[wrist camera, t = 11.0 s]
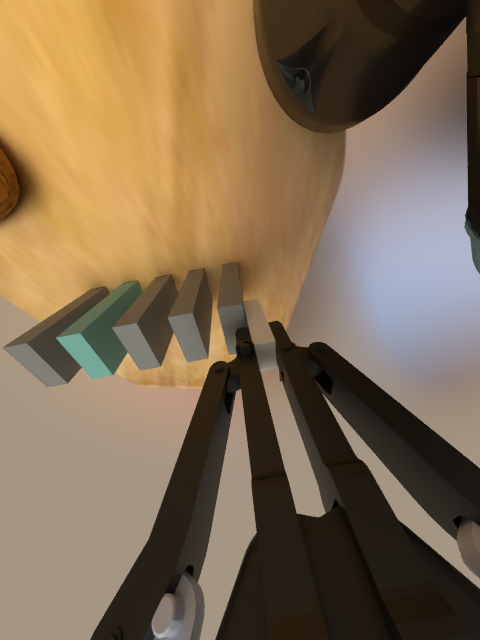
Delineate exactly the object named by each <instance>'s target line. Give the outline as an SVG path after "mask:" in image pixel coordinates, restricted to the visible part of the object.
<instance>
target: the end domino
mask: <svg viewBox="0 0 480 640" xmlns="http://www.w3.org/2000/svg"><path fill="white" fill-rule="evenodd" d="M109 294H110V293H109V291H108V290H107V288H106V287H101V288H95V289H91V290H89V291H88V292H86V293H85V294H83V295H82V296H80V297H79V298H77V299H76V300H74V301H73V302H71V303H70V304H68V305H67V306H65V307H64V308H62V309H60V310H59V311H57V312H56V313H54V314H53V315H51V316H50V317H48V318H47V319H45V320H44V321H42V322H41V323H39V324H38V325H36V326H35V327H33V328H32V329H30V330H29V331H27V332H25V333H24V334H22V335H21V336H19V337H18V338H16V339H15V340H13V341H12V342H10V343H9V344H7V345H6V346H4V347H3V349H4V350H5V351H7V352H8V353H9V354H10V355H11V356H12V357H14V358H15V359H16V360H17V361H18V362H19V363H20V364H21V365H23V366H24V367H25V368H26V369H27V370H28V371H29V372H30V373H32V374H33V375H34V376H35V377H36V378H37V379H38V380H40V381H41V382H42V383H43V384H44V385H45V386H46V387H51V386H57V385H63V384H68V383H69V382H70V380H71V379H72V378H73V377H74V376H75V375H76V373H77V372H78V371H79V370H80V369H81V366H80V365H79V363H78V362H77V361H76V360H75V359H74V358H73V357H72V356H71V355H70V353H69V352H68V351H67V350H66V349H65V348H64V347H63V346H62V344H61V343H60V342H59V341H58V340H57V339H56V337H57V336H58V335H60V334H61V333H62V332H63V331H65V330H66V329H67V328H68V327H70V326H71V325H72V324H73V323H75V322H76V321H77V320H78V319H80V318H81V317H82V316H83V315H84V314H86V313H87V312H88V311H89V310H91V309H92V308H93V307H94V306H96V305H97V304H98V303H99V302H101V301H102V300H103V299H104V298H106V297H107V296H108V295H109Z"/></svg>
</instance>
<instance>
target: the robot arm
mask: <svg viewBox="0 0 480 640" xmlns="http://www.w3.org/2000/svg"><path fill="white" fill-rule="evenodd" d="M465 17H466V34H467V57H468V58H467V63H468V71H467V144H468V146H467V149H468V208H467V211H466V215H465V217H466V222H465V229H466V232H467V234H468V235H469V236H470V240H471V249H472V258H473V262H474V265H475V267H476V269H477V271H478V272H479V274H480V0H254V22H255V32H256V39H257V45H258V50H259V55H260V59H261V63H262V66H263V70H264V73H265V76H266V79H267V81H268V83H269V86H270V88H271V90H272V92H273V94H274V96H275V98H276V99H277V101H278V103H279V104H280V105H281V107H282V108H283V109H284V111H285V112H286V113H287V114H288V115H289V116H290V117H291V118H292V119H293V120H294V121H296V122H297V123H298V124H300V125H301V126H303V127H305V128H307V129H310V130H313V131H317V132H324V133H331V132H338V131H342V130H345V129H348V128H350V127H353V126H355V125H356V124H359V123H360V122H362V121H364V120H365V119H367V118H369V117H370V116H372V115H374V114H375V113H377V112H378V111H380V110H381V109H383V108H384V107H385V106H386V105H387V104H389V103H390V102H391V101H392V100H393V99H395V98H396V97H397V96H398V95H399V94H400V93H401V92H402V91H403V90H404V89H405V88H406V87H407V86H408V84H409V83H410V82H411V81H412V80H413V79H414V77H415V76H416V75H417V74H418V72H419V71H420V70H421V68H422V67H423V65H424V64H425V63H426V62H427V61H428V60H429V59H430V58H431V56H432V55H433V54H434V53H435V52H436V51H437V50H438V48H439V47H440V46H441V45H442V44H443V43H444V41H445V40H446V39H447V38H448V37H449V36H450V34H451V33H452V32H453V31H454V30H455V29H456V27H457V26H458V25H459V24H460V22H461V21H462V20H463V19H464V18H465ZM243 305H244V311H245V316H246V321H247V326H248V327H245V328H240V329H237V330H236V332H235V336H236V346H235V349H236V353H237V357H236V358H235V359H234V360H233V361H231V362H229V363H226V362H225V361H218V362H216V363H214V364H213V365H212V366H211V367H210V369H209V372H208V375H207V378H206V380H205V383H204V386H203V389H202V392H201V395H200V397H199V400H198V403H197V406H196V409H195V411H194V414H193V417H192V420H191V422H190V425H189V428H188V431H187V434H186V436H185V439H184V442H183V445H182V448H181V451H180V453H179V457H178V459H177V462H176V465H175V467H174V470H173V473H172V476H171V479H170V482H169V484H168V487H167V490H166V493H165V496H164V498H163V501H162V504H161V507H160V510H159V513H158V515H157V518H156V521H155V524H154V526H153V529H152V532H151V535H150V538H149V540H148V541H147V543H146V545H145V547H144V548H143V550H142V552H141V553H140V555H139V557H138V558H137V560H136V562H135V563H134V565H133V567H132V568H131V570H130V572H129V574H128V575H127V577H126V579H125V580H124V582H123V584H122V585H121V587H120V589H119V591H118V592H117V594H116V596H115V597H114V599H113V601H112V602H111V604H110V606H109V607H108V609H107V611H106V613H105V614H104V616H103V618H102V619H101V621H100V623H99V625H98V626H97V628H96V629H95V631H94V633H93V635H92V637H91V639H90V640H199V639H200V634H201V629H202V624H203V619H204V608H205V604H204V596H203V592H202V589H201V587H200V585H199V584H198V579H199V577H200V573H201V570H202V567H203V563H204V559H205V556H206V552H207V547H208V542H209V538H210V533H211V527H212V522H213V516H214V510H215V505H216V499H217V494H218V488H219V483H220V477H221V472H222V466H223V461H224V455H225V450H226V444H227V439H228V433H229V428H230V421H231V417H232V411H233V405H234V400H235V395H236V391H237V390H239V389H241V390H242V400H243V408H244V416H245V424H246V433H247V441H248V449H249V458H250V466H251V474H252V482H251V483H252V495H253V503H254V512H255V521H256V528H257V529H256V530H257V533H256V535H255V536H254V537H253V539H252V540H251V542H250V544H249V546H248V548H247V550H246V553H245V556H244V558H243V561H242V564H241V567H240V570H239V573H238V576H237V578H236V581H235V584H234V587H233V590H232V593H231V596H230V599H229V602H228V604H227V607H226V610H225V613H224V616H223V619H222V622H221V625H220V628H219V631H218V633H217V636H216V639H215V640H480V589H479V588H478V587H477V586H476V585H475V584H473V583H472V582H471V581H470V580H469V579H468V578H466V577H465V576H464V575H463V574H462V573H461V572H459V571H458V570H457V569H456V568H454V567H453V566H452V565H451V564H450V563H449V562H448V561H446V560H445V559H444V558H443V557H442V556H441V555H439V554H438V553H437V552H436V551H435V550H434V549H432V548H431V547H430V546H429V545H428V544H426V543H425V542H424V541H423V540H422V539H421V538H419V537H418V536H417V535H416V534H415V533H414V532H412V531H411V530H410V529H409V528H408V527H407V526H405V525H404V524H403V523H402V522H400V521H399V520H398V519H397V518H396V516H395V514H394V512H393V510H392V509H391V507H390V505H389V504H388V502H387V500H386V498H385V496H384V494H383V493H382V491H381V489H380V488H379V486H378V484H377V482H376V480H375V478H374V477H373V475H372V473H371V471H370V470H369V468H368V467H367V465H366V464H365V463H364V462H363V461H362V460H360V459H358V458H357V456H356V455H355V453H354V452H353V450H352V448H351V446H350V444H349V442H348V441H347V439H346V437H345V435H344V433H343V431H342V430H341V428H340V426H339V424H338V422H337V421H336V418H335V417H334V415H333V413H332V411H331V409H330V407H329V405H328V404H327V402H326V400H325V398H324V396H325V397H326V398H327V399H328V400H329V401H330V403H331V404H332V405H333V406H334V407H335V408H336V409H337V411H338V412H339V413H340V414H341V415H342V416H343V418H344V419H345V420H346V421H347V422H348V423H349V424H350V426H351V427H352V428H353V429H354V430H355V431H356V433H357V434H358V435H359V436H360V437H361V438H362V439H363V440H364V442H365V443H366V444H367V445H368V446H369V447H370V448H371V450H372V451H373V452H374V453H375V454H376V456H378V458H379V459H380V460H381V461H382V462H383V464H384V465H385V466H386V467H387V468H388V469H389V470H390V472H391V473H392V474H393V475H394V476H395V477H396V479H397V480H398V481H399V482H400V483H401V484H402V485H403V487H404V488H405V489H406V490H407V491H408V492H409V493H410V494H411V496H412V497H413V498H414V499H415V500H416V501H417V503H418V504H419V505H420V506H421V507H422V508H423V509H424V510H425V511H426V512H427V513H428V514H429V515H430V516H431V517H432V518H433V519H434V520H435V521H436V522H437V523H438V524H439V525H440V526H441V527H442V528H443V529H444V530H445V531H446V532H447V533H448V534H450V535H451V536H452V537H453V538H454V539H455V540H457V544H458V547H459V550H460V552H461V557H462V559H463V561H464V563H465V564H466V566H467V567H468V568H469V569H470V571H472V572H473V573H474V574H475V575H476V576H478V577H479V578H480V468H479V467H477V466H476V465H475V464H474V463H473V462H471V461H470V460H469V459H468V458H466V457H465V456H464V455H463V454H461V453H460V452H459V451H458V450H456V449H455V448H454V447H453V446H452V445H450V444H449V443H448V442H447V441H445V440H444V439H443V438H442V437H440V436H439V435H438V434H437V433H436V432H434V431H433V430H432V429H431V428H429V427H428V426H427V425H426V424H424V423H423V422H422V421H421V420H420V419H418V418H417V417H416V416H415V415H413V414H412V413H411V412H409V411H408V410H407V409H406V408H405V407H403V406H402V405H401V404H400V403H399V402H397V401H396V400H395V399H393V398H392V397H391V396H390V395H389V394H387V393H386V392H385V391H384V390H383V389H381V388H380V387H379V386H377V385H376V384H375V383H374V382H372V381H371V380H370V379H369V378H368V377H366V376H365V375H364V374H363V373H362V372H360V371H359V370H358V369H357V368H355V367H354V366H353V365H352V364H350V363H349V362H348V361H347V360H345V359H344V358H343V357H342V356H340V355H339V354H338V353H337V352H335V351H334V350H333V349H332V348H331V347H329V346H328V345H327V344H325V343H322V342H314V343H312V344H310V346H309V347H308V348H307V347H298V346H296V345H295V344H294V343H293V342H291V340H290V339H289V337H288V335H287V333H286V331H285V329H284V327H283V325H282V323H280V322H279V321H273V322H267V319H266V317H265V314H264V312H263V309H262V307H261V305H260V302H259V300H258V299H253V300H248V301H243ZM277 365H278V366H277ZM278 368H279V374H280V381H282V382H283V386H284V389H285V391H286V394H287V397H288V400H289V403H290V406H291V408H292V411H293V414H294V417H295V420H296V423H297V426H298V429H299V431H300V434H301V437H302V440H303V443H304V446H305V449H306V452H307V454H308V457H309V460H310V463H311V466H312V469H313V471H314V474H315V477H316V480H317V483H318V486H319V490H320V495H321V499H322V503H323V506H324V509H325V512H326V514H324V515H323V516H321V517H312V516H306V515H301V514H297V513H296V509H295V505H294V501H293V497H292V493H291V489H290V485H289V482H288V478H287V475H286V472H285V469H284V465H283V461H282V457H281V453H280V449H279V445H278V441H277V436H276V432H275V428H274V424H273V420H272V416H271V412H270V408H269V404H268V401H267V396H266V392H265V388H264V385H263V380H262V376H261V373H260V372H263V371H268V370H273V369H278ZM322 393H323V394H324V396H323V395H322Z"/></svg>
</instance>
